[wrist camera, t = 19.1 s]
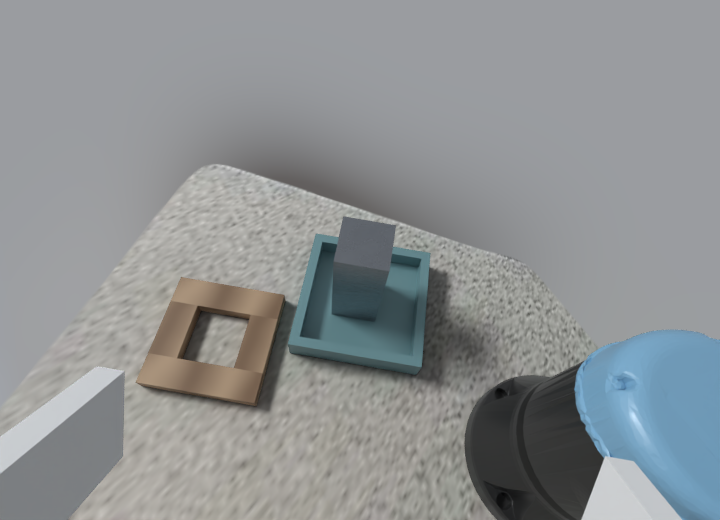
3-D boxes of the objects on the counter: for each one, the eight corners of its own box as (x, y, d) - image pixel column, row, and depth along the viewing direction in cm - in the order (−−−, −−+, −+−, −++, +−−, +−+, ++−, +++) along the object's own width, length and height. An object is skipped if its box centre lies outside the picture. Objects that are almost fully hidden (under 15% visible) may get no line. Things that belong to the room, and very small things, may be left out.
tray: (424, 265, 51) (430, 253, 49) (416, 374, 44) (421, 367, 42) (316, 246, 51) (315, 233, 49) (289, 352, 44) (287, 344, 42)
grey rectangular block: (380, 283, 48) (395, 225, 38) (374, 322, 46) (389, 271, 35) (339, 276, 48) (343, 216, 38) (331, 314, 46) (333, 261, 36)
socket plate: (285, 300, 47) (284, 295, 46) (256, 406, 41) (254, 403, 40) (185, 283, 48) (181, 277, 46) (141, 385, 41) (135, 382, 40)
